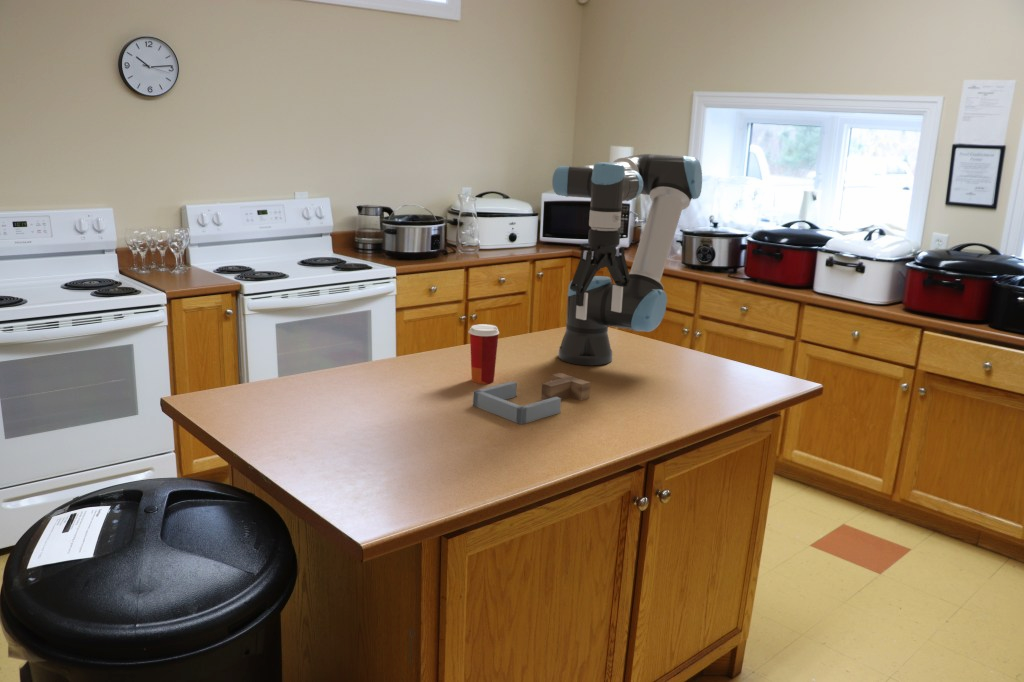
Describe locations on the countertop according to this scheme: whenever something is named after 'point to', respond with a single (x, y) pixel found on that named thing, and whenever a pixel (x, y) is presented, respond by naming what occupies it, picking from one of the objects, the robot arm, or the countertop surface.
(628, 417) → the countertop surface
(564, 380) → the tee block
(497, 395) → the corral
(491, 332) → the paper cup
